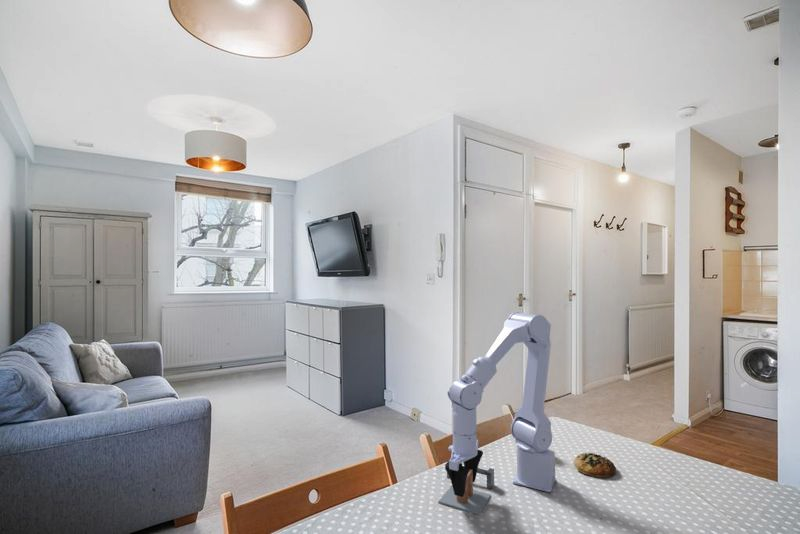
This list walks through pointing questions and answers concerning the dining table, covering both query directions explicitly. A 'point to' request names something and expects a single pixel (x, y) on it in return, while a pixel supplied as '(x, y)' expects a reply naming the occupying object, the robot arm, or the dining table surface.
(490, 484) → the bar stand
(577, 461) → the bread roll
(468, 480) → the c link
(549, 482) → the robot arm
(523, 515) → the dining table surface
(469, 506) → the mat
